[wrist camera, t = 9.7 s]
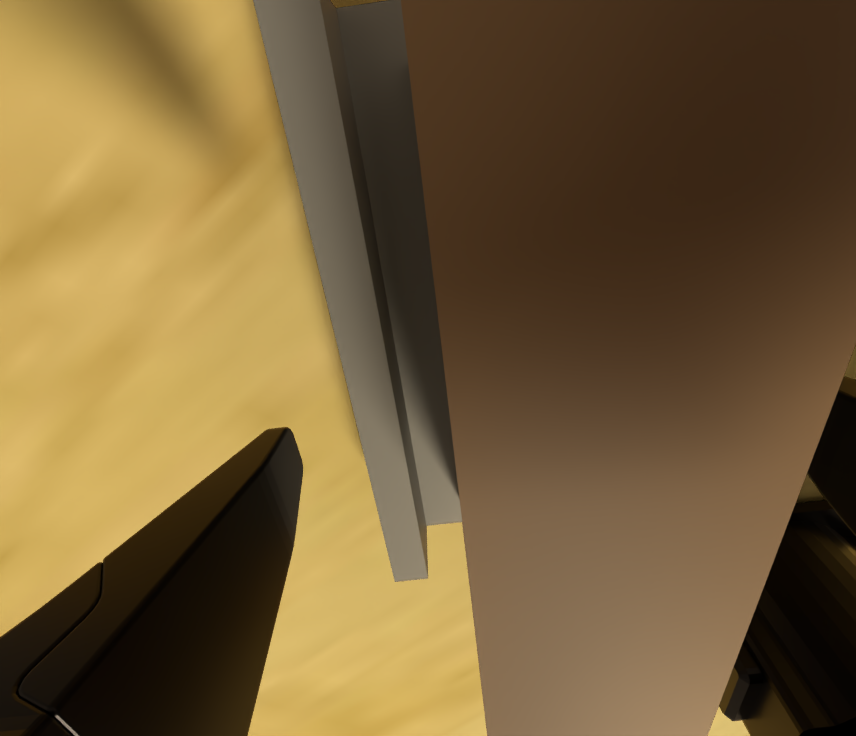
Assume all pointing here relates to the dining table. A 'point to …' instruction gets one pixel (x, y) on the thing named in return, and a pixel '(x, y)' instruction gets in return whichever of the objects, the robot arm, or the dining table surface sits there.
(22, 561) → the dining table surface
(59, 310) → the dining table surface
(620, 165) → the brown flat block
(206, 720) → the robot arm
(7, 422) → the dining table surface
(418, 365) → the display ledge
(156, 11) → the dining table surface
